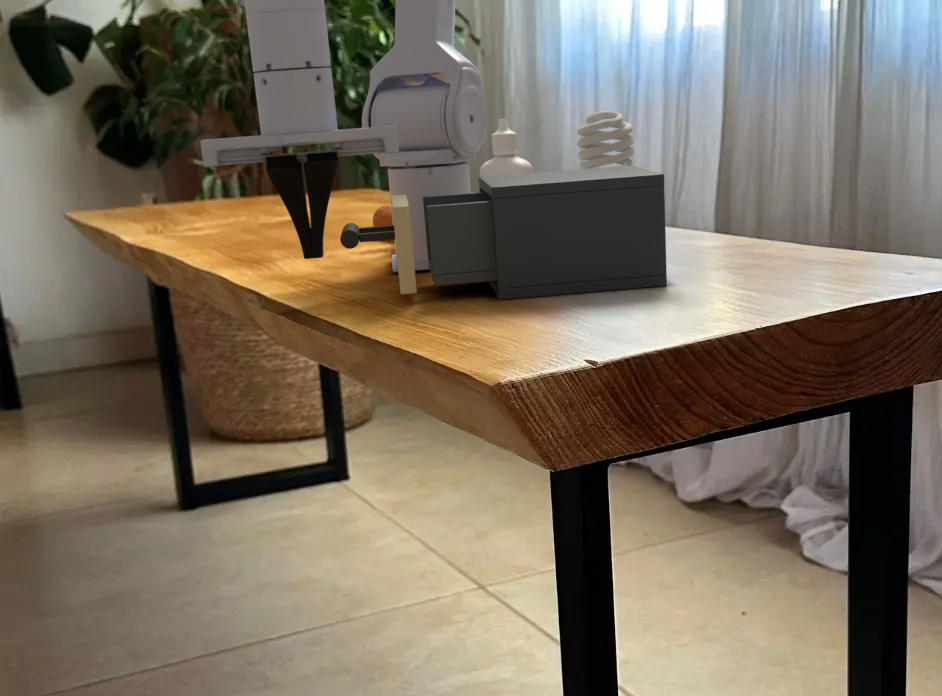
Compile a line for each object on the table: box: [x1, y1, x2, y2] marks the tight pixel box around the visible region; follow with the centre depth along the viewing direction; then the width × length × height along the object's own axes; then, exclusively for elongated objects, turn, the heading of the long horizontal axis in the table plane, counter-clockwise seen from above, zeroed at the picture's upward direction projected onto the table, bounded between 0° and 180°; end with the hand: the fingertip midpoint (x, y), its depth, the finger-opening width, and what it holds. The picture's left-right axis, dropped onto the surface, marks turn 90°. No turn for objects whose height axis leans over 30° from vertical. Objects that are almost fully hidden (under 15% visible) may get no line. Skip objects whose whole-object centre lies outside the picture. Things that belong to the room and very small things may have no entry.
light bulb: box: [576, 110, 635, 169], centre depth 122 cm, size 6×6×12 cm
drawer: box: [339, 191, 497, 295], centre depth 95 cm, size 16×11×6 cm
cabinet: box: [478, 165, 668, 301], centre depth 96 cm, size 13×13×8 cm
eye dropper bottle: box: [479, 118, 534, 177], centre depth 122 cm, size 4×6×12 cm
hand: (313, 257), depth 95 cm, fingers closed
